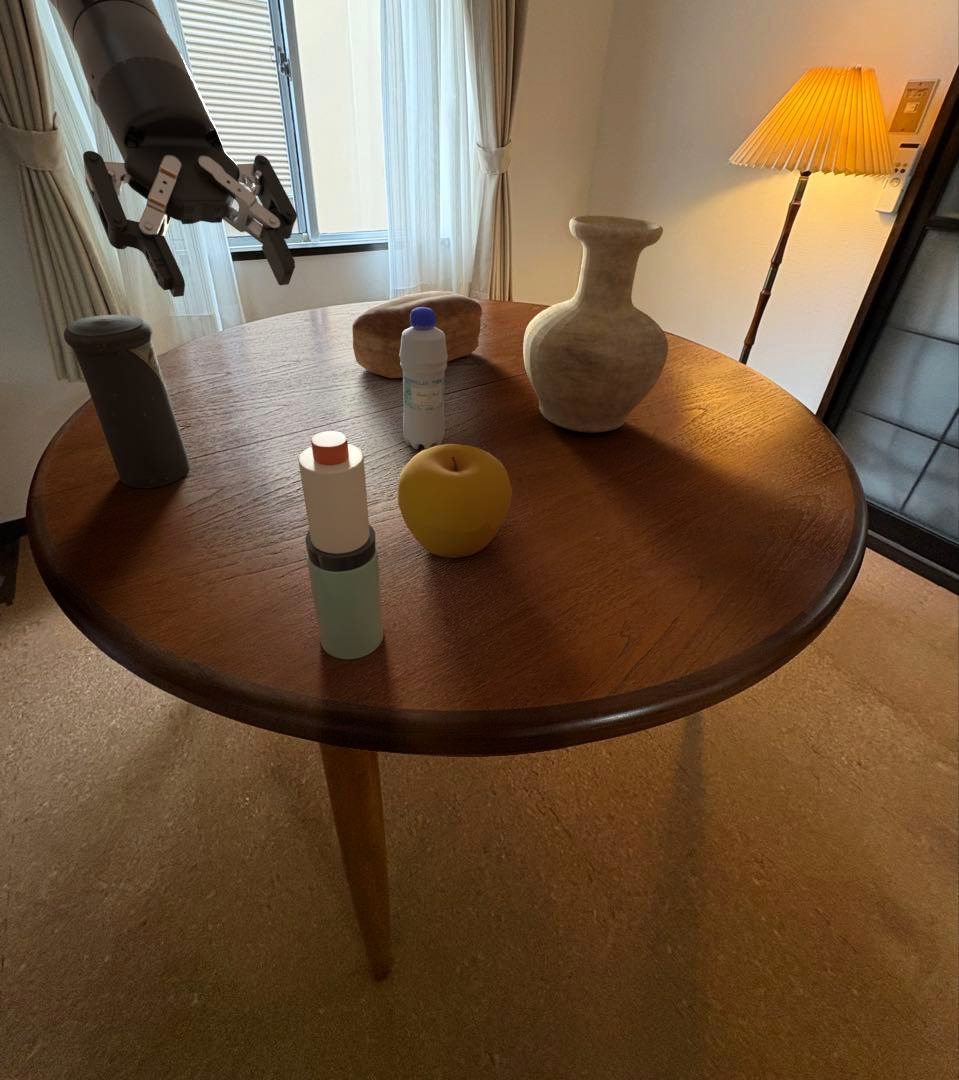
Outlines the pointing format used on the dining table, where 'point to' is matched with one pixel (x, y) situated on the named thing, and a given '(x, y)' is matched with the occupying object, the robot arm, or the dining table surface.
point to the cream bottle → (335, 493)
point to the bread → (387, 321)
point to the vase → (597, 333)
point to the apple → (454, 498)
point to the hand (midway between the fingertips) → (236, 284)
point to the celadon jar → (347, 598)
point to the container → (130, 398)
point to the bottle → (423, 379)
